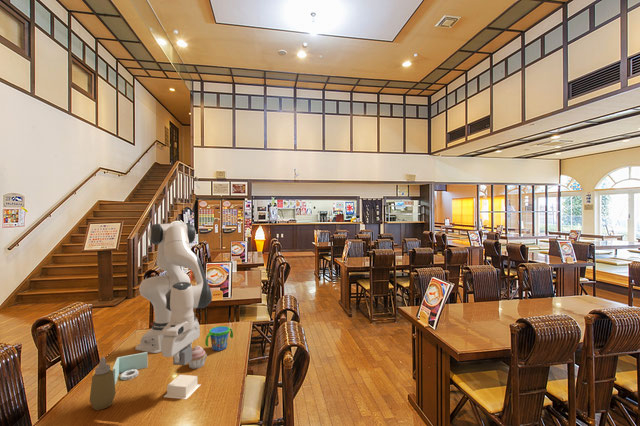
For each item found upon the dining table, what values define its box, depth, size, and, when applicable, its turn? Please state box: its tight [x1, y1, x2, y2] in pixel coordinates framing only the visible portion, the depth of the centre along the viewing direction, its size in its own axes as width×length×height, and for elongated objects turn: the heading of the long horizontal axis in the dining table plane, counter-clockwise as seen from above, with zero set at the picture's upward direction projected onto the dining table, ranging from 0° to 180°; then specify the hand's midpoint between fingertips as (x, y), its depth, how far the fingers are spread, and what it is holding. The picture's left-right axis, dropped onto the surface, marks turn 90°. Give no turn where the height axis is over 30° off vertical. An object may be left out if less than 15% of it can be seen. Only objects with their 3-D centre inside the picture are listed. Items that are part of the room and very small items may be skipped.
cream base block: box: [166, 374, 198, 397], centre depth 121 cm, size 8×8×4 cm
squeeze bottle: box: [89, 356, 117, 411], centre depth 113 cm, size 8×8×18 cm
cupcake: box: [187, 345, 208, 370], centre depth 142 cm, size 9×9×10 cm
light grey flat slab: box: [163, 383, 201, 400], centre depth 121 cm, size 18×14×1 cm
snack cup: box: [204, 325, 234, 352], centre depth 161 cm, size 16×10×10 cm
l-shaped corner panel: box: [112, 351, 149, 386], centre depth 135 cm, size 12×12×8 cm
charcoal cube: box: [172, 347, 193, 366], centre depth 121 cm, size 5×5×5 cm
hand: (182, 357), depth 121 cm, fingers closed on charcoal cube, 5 cm apart
